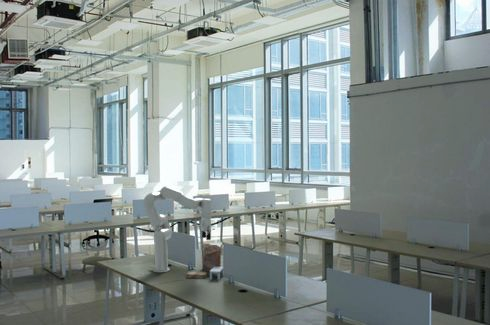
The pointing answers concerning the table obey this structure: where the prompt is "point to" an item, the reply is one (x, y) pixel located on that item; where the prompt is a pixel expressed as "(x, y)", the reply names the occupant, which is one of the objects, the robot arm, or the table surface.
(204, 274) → the panel
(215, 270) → the bridge
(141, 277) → the table surface
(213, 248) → the stone
